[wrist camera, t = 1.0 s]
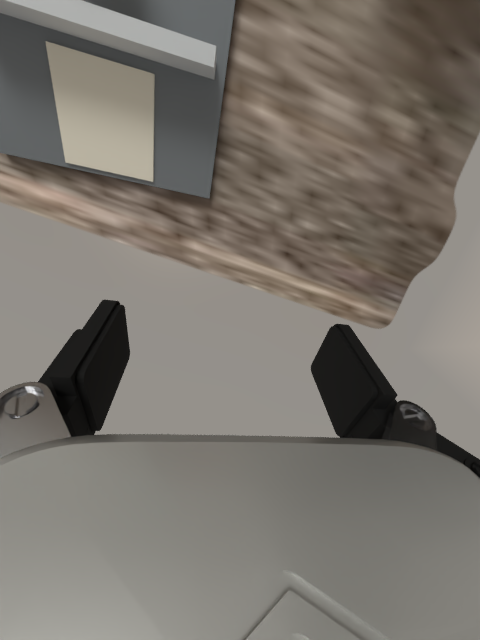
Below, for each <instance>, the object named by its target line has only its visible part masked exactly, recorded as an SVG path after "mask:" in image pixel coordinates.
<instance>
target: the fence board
mask: <svg viewBox="0 0 480 640" xmlns="http://www.w3.org/2000/svg"><path fill="white" fill-rule="evenodd" d="M234 7H235V0H0V153H4V154H8V155H13V156H18V157H22V158H27V159H31V160H36V161H40V162H45V163H49V164H54V165H59V166H63V167H68V168H72V169H77V170H81V171H86V172H90V173H95V174H100V175H104V176H109V177H113V178H118V179H122V180H127V181H131V182H136V183H141V184H145V185H150V186H154V187H159V188H163V189H168V190H172V191H177V192H182V193H186V194H191V195H195V196H200V197H204V198H210V190H211V182H212V175H213V167H214V160H215V152H216V144H217V137H218V129H219V121H220V114H221V106H222V98H223V91H224V83H225V76H226V68H227V60H228V53H229V45H230V37H231V30H232V22H233V14H234Z"/></svg>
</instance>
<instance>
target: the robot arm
mask: <svg viewBox="0 0 480 640" xmlns="http://www.w3.org/2000/svg"><path fill="white" fill-rule="evenodd" d="M126 324H127V323H126V315H125V307H124V306H123V305H120V303H119V302H118V301H111V300H103V301H102V302H101V303H100V304H99V306H98V307H97V309H96V310H95V312H94V313H93V314H92V316H91V317H90V319H89V320H88V322H87V323H86V325H85V326H84V327H83V329H82V330H81V329H78V330H76V331H75V332H74V333H73V335H72V336H71V337H70V339H69V340H68V341H67V343H66V344H65V345H64V347H63V348H62V350H61V351H60V352H59V354H58V355H57V357H56V358H55V359H54V361H53V362H52V364H51V365H50V366H49V368H48V369H47V371H46V372H45V373H44V374H43V376H42V377H41V378H40V380H39V381H38V382H27V383H22V384H18V385H15V386H13V387H10V388H8V389H6V390H5V391H3V392H1V393H0V640H480V460H479V459H478V458H476V457H475V456H473V455H471V454H470V453H468V452H467V451H465V450H464V449H462V448H460V447H459V446H457V445H456V444H454V443H453V442H451V441H449V440H448V439H446V438H444V437H443V436H441V435H440V434H438V433H437V432H436V424H435V422H434V420H433V419H432V417H431V416H430V415H429V414H428V413H427V412H426V411H425V410H424V409H423V408H421V407H420V406H418V405H417V404H414V403H412V402H409V401H404V400H403V401H399V402H397V401H396V400H395V398H396V396H397V394H396V392H395V391H394V389H393V388H392V386H391V385H390V384H389V382H388V381H387V379H386V378H385V376H384V375H383V373H382V372H381V371H380V369H379V368H378V366H377V365H376V364H375V362H374V361H373V359H372V358H371V356H370V355H369V353H368V352H367V351H366V349H365V348H364V346H363V345H362V343H361V342H360V340H359V339H358V338H357V336H356V335H355V333H354V332H353V330H352V329H351V328H350V326H349V325H343V324H335V325H334V326H333V327H331V328H330V329H329V331H328V333H327V335H326V337H325V339H324V341H323V343H322V345H321V347H320V349H319V351H318V353H317V355H316V357H315V359H314V361H313V363H312V365H311V372H312V374H313V377H314V380H315V382H316V385H317V387H318V390H319V392H320V395H321V397H322V400H323V402H324V405H325V407H326V410H327V412H328V415H329V417H330V420H331V422H332V425H333V427H334V430H335V432H336V434H337V435H338V436H340V438H326V437H325V438H324V437H285V436H234V435H170V434H107V435H94V433H95V431H100V430H101V428H102V426H103V423H104V420H105V418H106V416H107V413H108V411H109V408H110V406H111V403H112V400H113V398H114V396H115V393H116V390H117V388H118V385H119V383H120V380H121V378H122V375H123V373H124V370H125V368H126V365H127V363H128V360H129V356H130V349H129V341H128V332H127V325H126Z"/></svg>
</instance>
